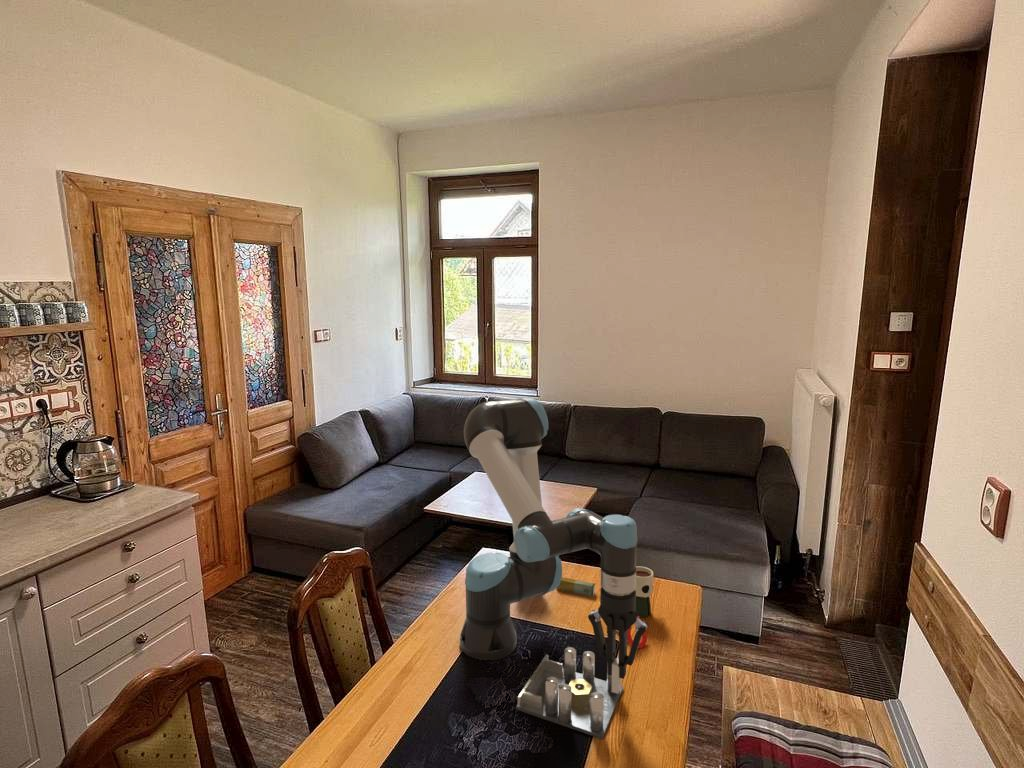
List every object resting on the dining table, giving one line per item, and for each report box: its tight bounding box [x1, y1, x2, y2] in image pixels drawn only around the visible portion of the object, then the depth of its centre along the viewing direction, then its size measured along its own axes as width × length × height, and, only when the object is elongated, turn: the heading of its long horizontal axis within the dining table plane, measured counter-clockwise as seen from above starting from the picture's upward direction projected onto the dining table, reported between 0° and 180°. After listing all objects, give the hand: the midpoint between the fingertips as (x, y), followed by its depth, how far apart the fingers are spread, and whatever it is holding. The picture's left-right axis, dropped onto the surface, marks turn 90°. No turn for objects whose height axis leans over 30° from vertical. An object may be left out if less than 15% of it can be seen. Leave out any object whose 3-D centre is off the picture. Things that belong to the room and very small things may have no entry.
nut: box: [569, 679, 592, 707], centre depth 128 cm, size 5×6×3 cm
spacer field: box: [516, 646, 624, 740], centre depth 129 cm, size 20×17×8 cm
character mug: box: [635, 565, 654, 618], centre depth 164 cm, size 11×7×13 cm, turn 132°
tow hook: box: [627, 616, 648, 649], centre depth 153 cm, size 7×10×7 cm
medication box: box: [555, 576, 596, 598], centre depth 176 cm, size 12×3×4 cm, turn 69°
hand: (616, 688), depth 123 cm, fingers closed
